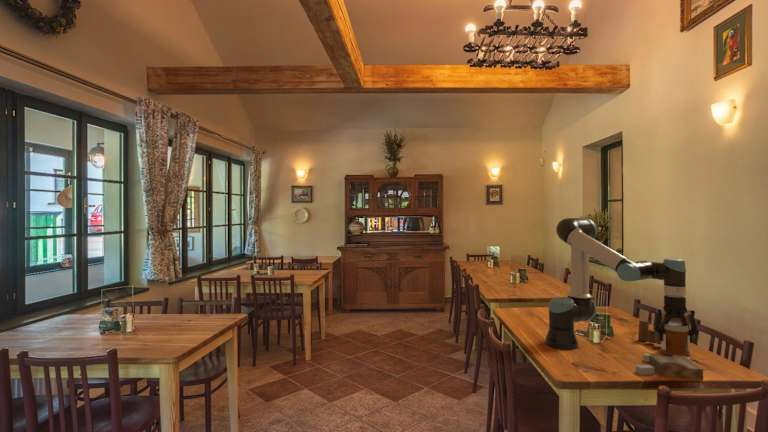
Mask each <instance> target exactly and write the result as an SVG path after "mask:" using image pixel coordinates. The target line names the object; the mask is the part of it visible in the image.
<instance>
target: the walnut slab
mask: <svg viewBox="0 0 768 432" xmlns="http://www.w3.org/2000/svg"><path fill="white" fill-rule="evenodd" d="M649 365H650V366H652V367H654V368H655V370H656V371H657V372H658V373H659V374H660V375H661V376H663V377H669V378H679V377H680V378H681V379H694V380H704V369H703V368H701V367H700V366H699V365H697V364H696V363H695V362H693V361H692V360H691V359H690V360H689V359H687V358H686V357H673V356H669V355H660V354H659V355H658V354H651V355H650V362H649Z"/></svg>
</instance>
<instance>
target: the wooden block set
mask: <svg viewBox="0 0 768 432" xmlns="http://www.w3.org/2000/svg"><path fill="white" fill-rule="evenodd" d="M649 327H650V322H649V321H648V320H643V319H639V321H638V333H637V335H638V337H637V340H638V341H640V342H641V341H642V342H648V343H650V344H657V345H661V341H660V340H659V333H658V332H656V331H655V330H653V329H649Z"/></svg>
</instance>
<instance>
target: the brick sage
mask: <svg viewBox="0 0 768 432" xmlns="http://www.w3.org/2000/svg"><path fill="white" fill-rule="evenodd" d="M650 355H652V354H650V353H646V352H645V353H643V356H642V358H643V359H642V360H643V362H647V363H650Z"/></svg>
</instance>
